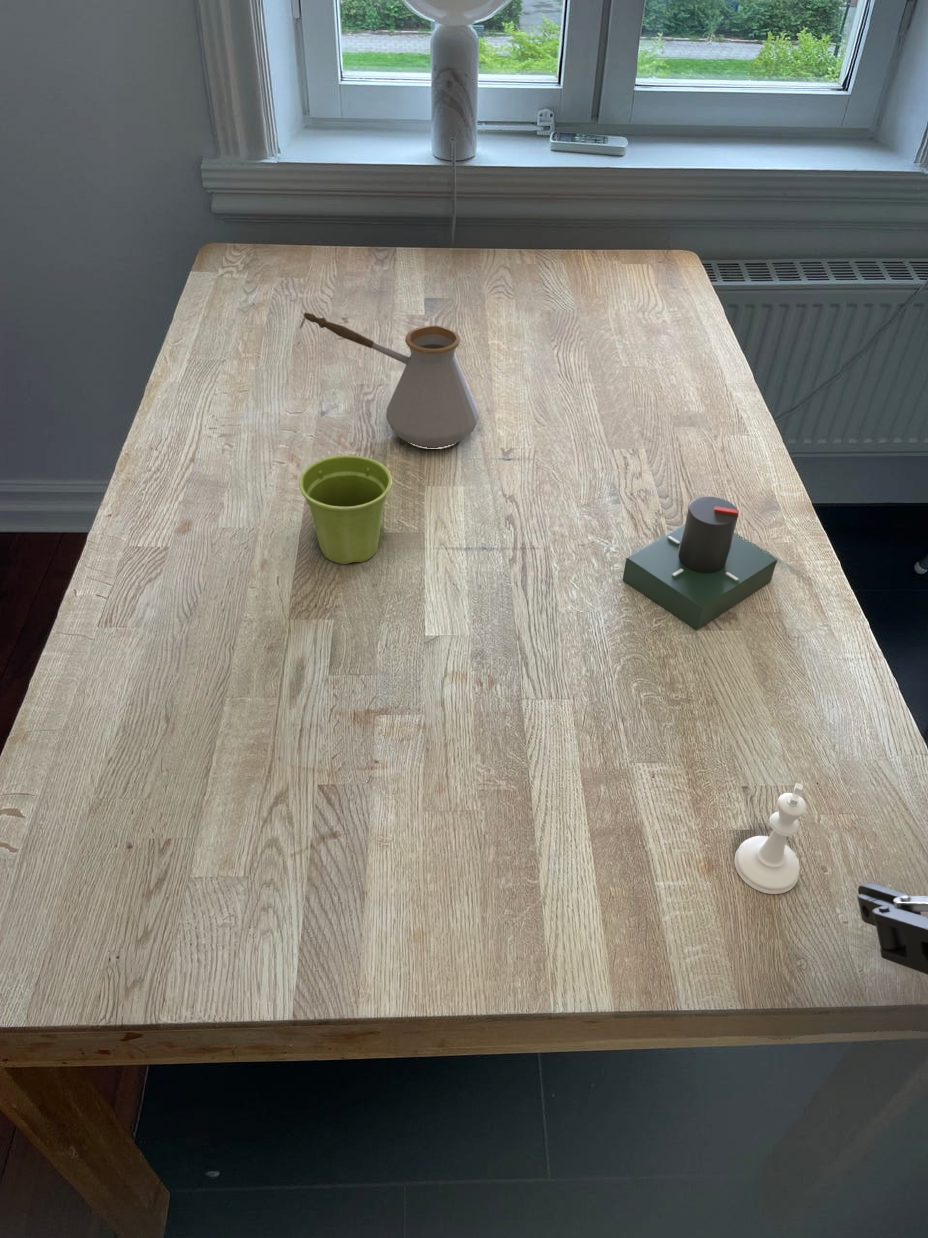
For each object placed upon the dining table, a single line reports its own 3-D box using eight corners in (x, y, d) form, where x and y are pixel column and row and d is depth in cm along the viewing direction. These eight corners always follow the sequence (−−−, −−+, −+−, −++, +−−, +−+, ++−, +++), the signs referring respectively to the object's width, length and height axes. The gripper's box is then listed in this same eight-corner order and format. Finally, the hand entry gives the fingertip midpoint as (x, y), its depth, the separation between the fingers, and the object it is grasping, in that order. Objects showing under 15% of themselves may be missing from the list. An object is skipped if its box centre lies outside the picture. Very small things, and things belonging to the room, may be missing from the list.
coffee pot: (482, 413, 125) (486, 302, 115) (474, 462, 117) (478, 346, 107) (319, 402, 127) (309, 290, 117) (299, 449, 118) (287, 333, 108)
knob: (676, 568, 98) (688, 518, 94) (680, 540, 101) (691, 490, 97) (725, 576, 97) (738, 525, 93) (726, 547, 101) (739, 497, 97)
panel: (696, 536, 107) (701, 513, 105) (770, 582, 102) (778, 558, 99) (622, 579, 101) (626, 556, 99) (696, 630, 96) (703, 606, 94)
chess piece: (803, 854, 77) (840, 774, 70) (792, 904, 73) (828, 825, 67) (742, 831, 78) (771, 750, 71) (727, 879, 75) (757, 799, 68)
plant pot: (410, 538, 106) (409, 470, 100) (363, 586, 99) (359, 517, 94) (338, 512, 109) (333, 445, 103) (288, 558, 103) (280, 489, 97)
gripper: (1294, 833, 43) (1012, 793, 59) (1034, 914, 40) (809, 849, 56) (1329, 999, 43) (1037, 915, 59) (1072, 1094, 40) (835, 978, 56)
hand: (927, 883), depth 57 cm, fingers open, 8 cm apart
